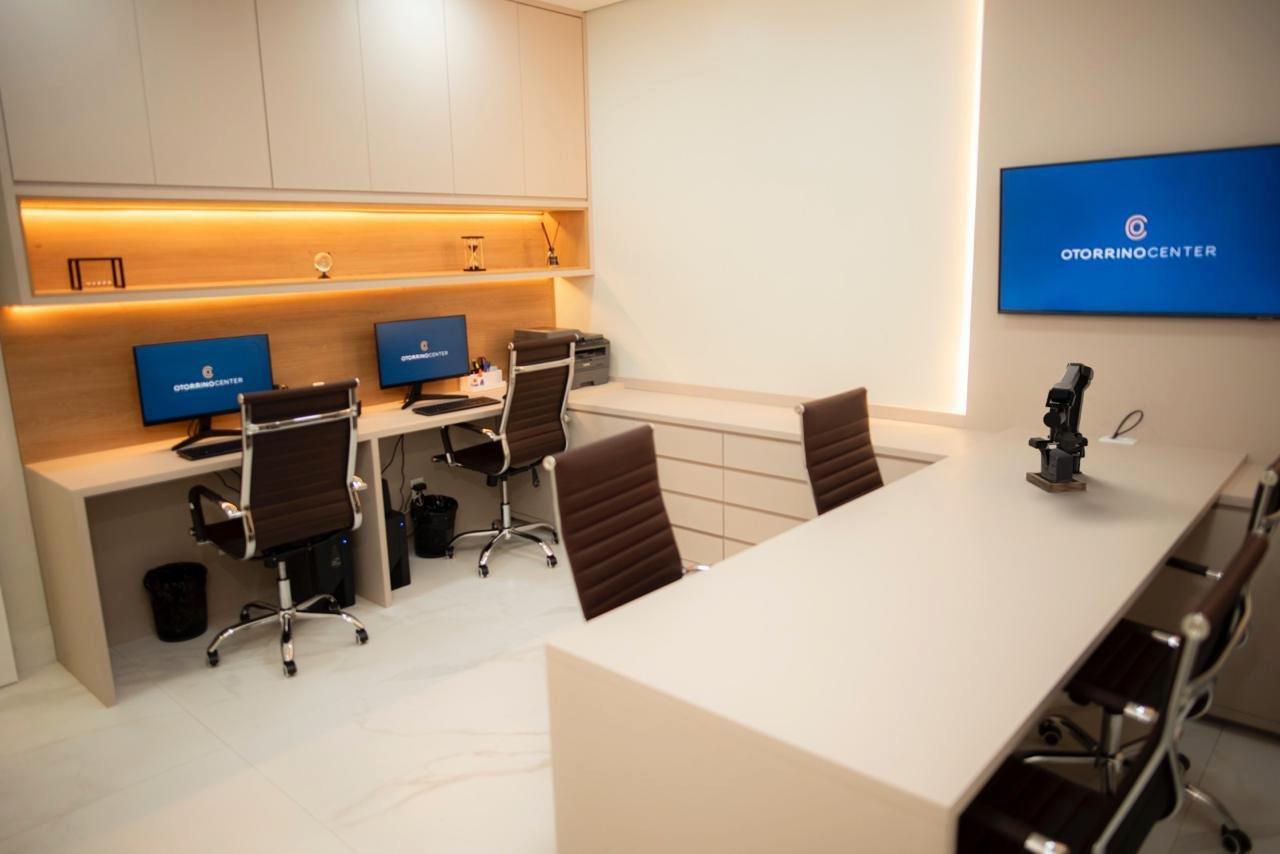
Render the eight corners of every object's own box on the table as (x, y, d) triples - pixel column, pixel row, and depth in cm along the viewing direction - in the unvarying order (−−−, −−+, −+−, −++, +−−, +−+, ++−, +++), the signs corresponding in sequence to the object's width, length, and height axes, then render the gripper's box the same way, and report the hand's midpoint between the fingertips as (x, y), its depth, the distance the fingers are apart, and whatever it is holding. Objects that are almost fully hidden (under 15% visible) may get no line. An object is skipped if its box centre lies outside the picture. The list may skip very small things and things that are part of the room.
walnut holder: (1060, 477, 309) (1061, 470, 309) (1085, 490, 294) (1086, 482, 293) (1025, 479, 309) (1026, 472, 308) (1049, 492, 293) (1049, 484, 293)
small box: (1074, 483, 296) (1074, 455, 294) (1056, 486, 296) (1055, 458, 293) (1057, 474, 307) (1057, 446, 304) (1040, 477, 306) (1039, 449, 304)
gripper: (1045, 429, 288) (1042, 473, 292) (1099, 426, 289) (1095, 470, 292) (1028, 422, 299) (1026, 464, 302) (1080, 419, 300) (1077, 461, 303)
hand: (1056, 465), depth 300 cm, fingers closed on small box, 6 cm apart
